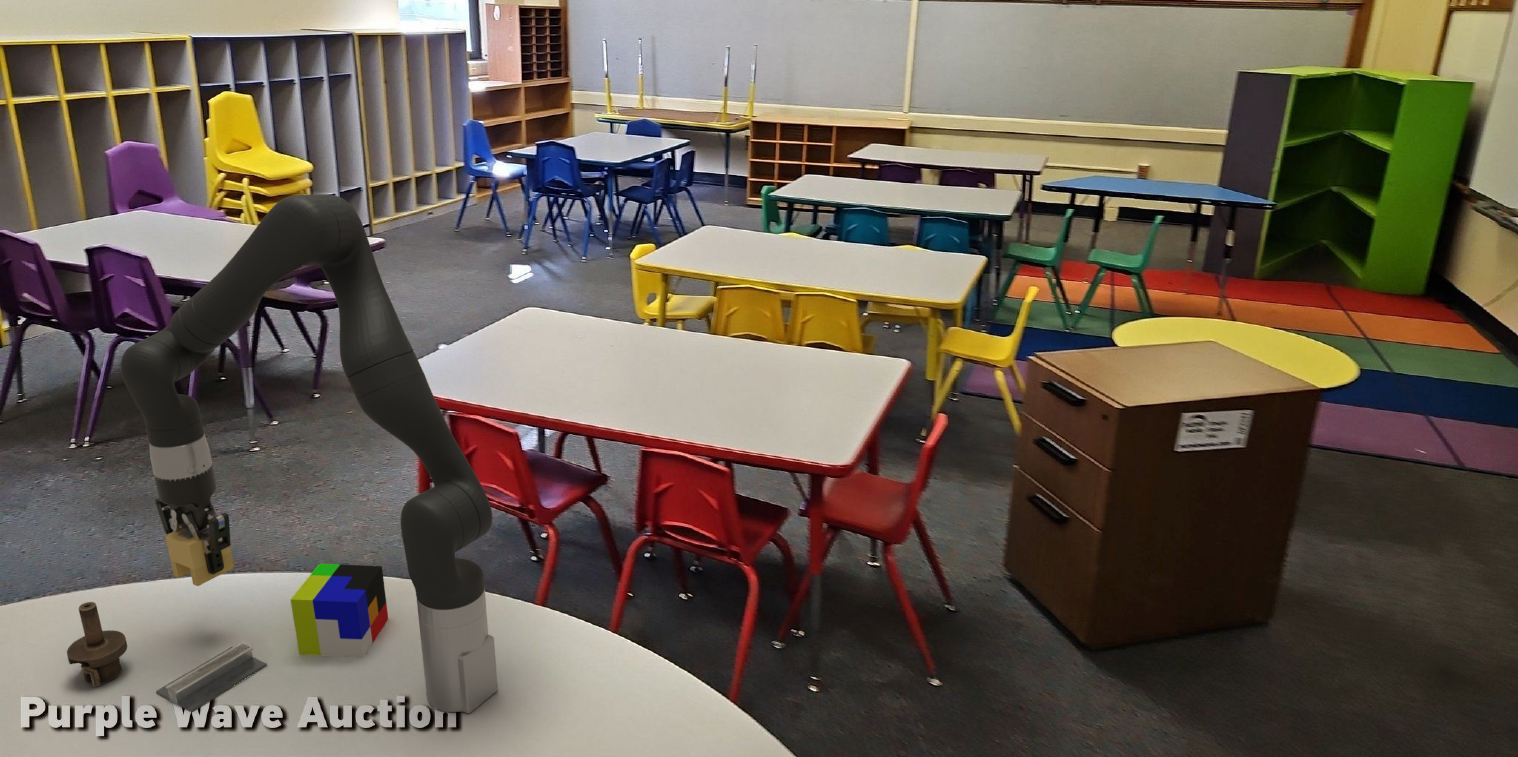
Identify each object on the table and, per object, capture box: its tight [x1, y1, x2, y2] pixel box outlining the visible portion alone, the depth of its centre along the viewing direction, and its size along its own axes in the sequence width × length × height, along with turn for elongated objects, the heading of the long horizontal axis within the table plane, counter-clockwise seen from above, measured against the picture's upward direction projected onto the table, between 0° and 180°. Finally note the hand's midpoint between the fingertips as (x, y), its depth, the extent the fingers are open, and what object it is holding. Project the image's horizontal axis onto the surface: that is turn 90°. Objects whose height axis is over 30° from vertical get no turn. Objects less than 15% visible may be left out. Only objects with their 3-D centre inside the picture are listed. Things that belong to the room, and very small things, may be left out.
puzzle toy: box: [290, 563, 389, 658], centre depth 156 cm, size 10×10×10 cm
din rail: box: [155, 642, 268, 713], centre depth 146 cm, size 8×12×2 cm, turn 152°
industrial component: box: [66, 601, 128, 688], centre depth 145 cm, size 9×7×12 cm
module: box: [164, 527, 235, 587], centre depth 150 cm, size 6×6×7 cm
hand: (202, 565), depth 151 cm, fingers closed on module, 5 cm apart
